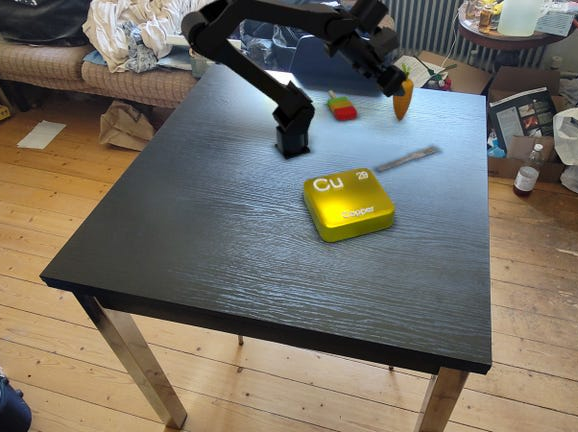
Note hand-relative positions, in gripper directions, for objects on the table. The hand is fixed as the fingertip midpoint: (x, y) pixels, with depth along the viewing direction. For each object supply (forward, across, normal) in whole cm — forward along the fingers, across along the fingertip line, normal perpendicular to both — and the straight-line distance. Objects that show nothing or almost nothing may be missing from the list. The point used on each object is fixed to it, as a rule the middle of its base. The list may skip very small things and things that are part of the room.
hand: (393, 86), depth 107 cm
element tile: (-11, -25, +25) cm, 37 cm away
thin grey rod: (+4, -16, +11) cm, 19 cm away
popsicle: (+2, +13, +13) cm, 19 cm away
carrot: (+9, 0, +5) cm, 11 cm away
